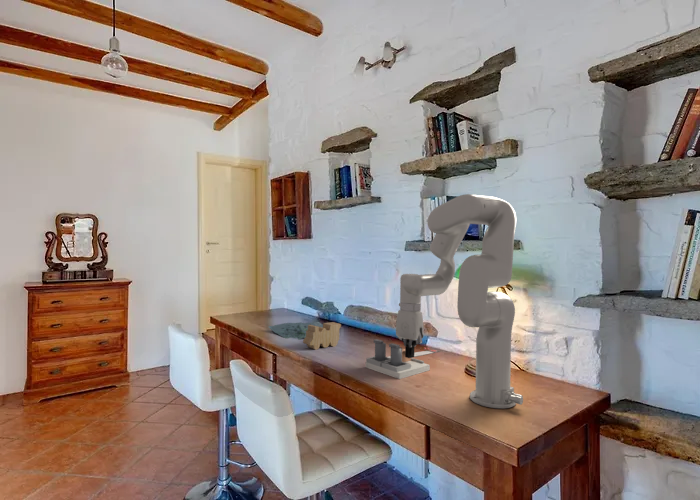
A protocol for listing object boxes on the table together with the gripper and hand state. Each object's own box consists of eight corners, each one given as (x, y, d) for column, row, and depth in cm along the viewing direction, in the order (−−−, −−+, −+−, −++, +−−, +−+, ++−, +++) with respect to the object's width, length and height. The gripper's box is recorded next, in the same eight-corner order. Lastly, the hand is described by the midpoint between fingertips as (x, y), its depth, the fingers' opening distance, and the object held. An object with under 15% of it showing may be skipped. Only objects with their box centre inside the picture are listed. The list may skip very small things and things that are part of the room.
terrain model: (267, 331, 210) (268, 322, 209) (313, 326, 226) (314, 317, 226) (290, 347, 189) (291, 337, 188) (339, 340, 205) (340, 330, 205)
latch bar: (410, 360, 150) (411, 349, 150) (400, 362, 146) (400, 352, 146) (406, 358, 152) (406, 348, 152) (395, 361, 148) (396, 350, 148)
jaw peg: (404, 368, 140) (404, 345, 140) (396, 370, 137) (396, 347, 137) (394, 364, 144) (394, 342, 144) (386, 366, 141) (386, 344, 141)
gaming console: (424, 346, 180) (441, 350, 172) (424, 348, 180) (441, 352, 172) (387, 353, 167) (403, 358, 159) (387, 354, 167) (403, 360, 159)
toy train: (302, 348, 174) (303, 325, 174) (333, 343, 185) (333, 321, 185) (310, 351, 170) (310, 327, 170) (341, 345, 181) (341, 323, 181)
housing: (429, 370, 145) (430, 342, 145) (399, 379, 134) (400, 349, 134) (395, 360, 157) (395, 334, 157) (365, 367, 147) (365, 340, 147)
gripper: (388, 305, 150) (388, 354, 150) (419, 310, 139) (418, 363, 138) (402, 304, 155) (401, 351, 155) (433, 309, 143) (432, 359, 143)
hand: (409, 357), depth 147 cm, fingers closed
